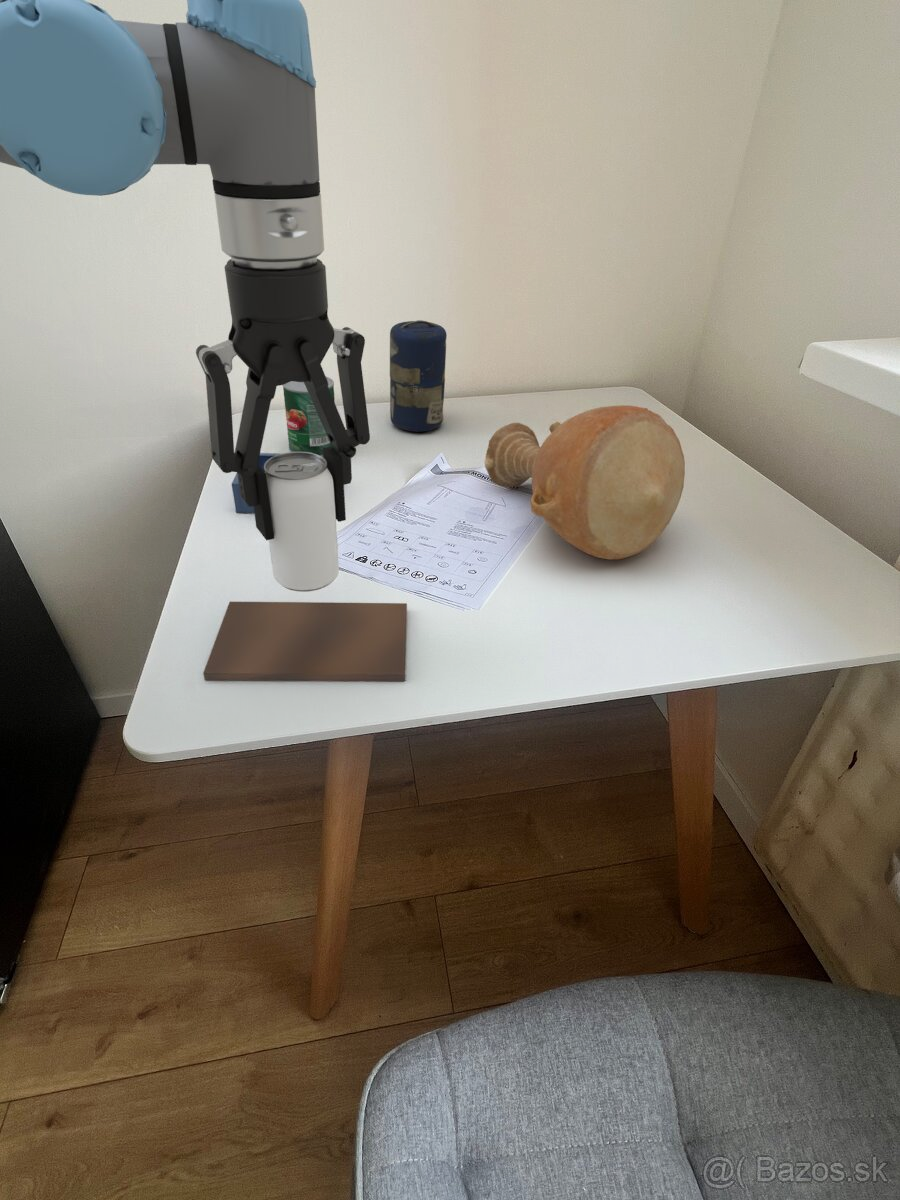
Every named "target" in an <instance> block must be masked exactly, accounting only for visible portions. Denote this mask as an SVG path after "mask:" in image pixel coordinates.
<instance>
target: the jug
mask: <svg viewBox="0 0 900 1200" xmlns="http://www.w3.org/2000/svg"><path fill="white" fill-rule="evenodd" d="M548 430H549V431H550V434H549V435H548V436H547V437H546V438H545V440H543V442H542V444H541V445H540V443H539V440H538V438H537V436H536V433H535V432H534V431H533V430H532V429H531V427H529V426H527V425H525V424H523V423H520V422H511V423H509V424H506V425H504V426H502V427H500V428H498V429H497V430H495V432H494V433H493V435H492V436H491V438H489V440H488V446H487V449H486V453H485V458H484V459H485V460H484V468H485V470H486V471H487V475H488V476H489V479H490V480H491V481H492V483H494V484H495V485H498V486H500V487H504V488H515V487H517V486H521V485H522V484H524V483H526V481H528V480H529V479H530V478H531V489H532V495H531V499H530V510H531V512H532V513H533V514H534V515H535V516H537V517H541V518H543V520H544V521H545V523H547V525H548V526H549V527H550V528H551V529H552V530H553V532H555V533H556V534H557V535H558V536H559V537H561V538H562V539H563V540H564V541H566V542H567V543H568V544H570V545H571V546H573V547H574V548H576V549H577V550H579V551H581V552H582V553H583V552H584V553H585V554H587V555H590V556H592V557H595V558H598V559H604V560H623V559H626V558H628V557H631V556H632V557H633V556H635V555H637V554H639V553H641V552H642V551H644V550H645V549H647V548H648V547H649V546H651V545H652V544H653V543H654V542H655V541H656V540H657V539H658V538H659V536H660V535H662V533H663V532H664V531H665V529H666V528H667V526H668V525H669V524H670V522H671V520H672V518H673V516H674V514H675V513H676V511H677V508H678V506H679V503H680V501H681V497H682V494H683V492H684V491H683V490H684V485H685V476H686V475H685V474H686V462H685V455H684V452H683V449H682V448H683V447H682V445H681V441H680V439H679V438H678V436H677V434H676V432H675V430H674V428H673V427H672V426H671V425H670V424H668V423H667V422H666V421H665V419H664V418H663V417H662V416H661V415H660V414H659V413H656V412H654V411H651V410H649V409H648V408H647V407H641V406H637V405H622V404H621V405H620V404H619V405H608V406H600V407H595V408H592V409H588V410H586V411H583V412H580V413H578V414H576V415H574V416H572V417H569V418H568V419H566V420H565V421H563V422H562V423H560V422H559V421H555V422H553V423H552V424H551V425H550V426H549V428H548Z"/></svg>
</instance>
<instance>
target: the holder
mask: <svg viewBox="0 0 900 1200" xmlns="http://www.w3.org/2000/svg"><path fill="white" fill-rule="evenodd" d="M279 454H282V452H281V453H280V452H279V453H278V452H275V453H272V452H260V455H259V460H258V465H259V466H260V468H261V469H262V470H263V471H264V472H265V470H264V464H265V463H266V461H267V460H269V459H270V458H272V457H274V456H276V455H279ZM231 489H232V494H233V496H232V497H233V501H234V508H235V513H236V514H254V508H253V506H252V507H248V505H247V504H246V503H245V501H244V500H243V499H242V497H241V494H240V486H239V481H238V474H237V472H235V475H234V478H233V480H232V482H231Z"/></svg>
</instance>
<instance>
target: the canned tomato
mask: <svg viewBox="0 0 900 1200" xmlns="http://www.w3.org/2000/svg"><path fill="white" fill-rule="evenodd" d="M326 379H327V381H328V388H329V390H330V393H331V395H332V398H333V400H334V402H335V403H336V401H335V381H334V380H333V379H332V378H330V377H328V376H326ZM282 389H283V399H284V400H283V402H284V411H285V420H286V429H287V430H286V431H287V440H288V450H289V452H309V453H314V454H317V455H319V456H321V457H323V449H322V448H326V447H331V448H332V444H331V443H330V441H329V439H328V437H327V434H326V432H325V430H324V427H323V425H322V423H321V421H320V418H319V416H318V414H317V411H316V409H315V407H314V404H313V402H312V400H311V397H310V395H309V393H308V391H307V388H306V386H305V384H304V382H295V381H290V382H288V383H286V384H284V385H282Z"/></svg>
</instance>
